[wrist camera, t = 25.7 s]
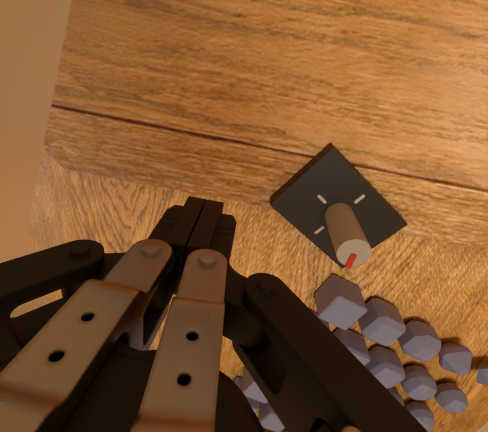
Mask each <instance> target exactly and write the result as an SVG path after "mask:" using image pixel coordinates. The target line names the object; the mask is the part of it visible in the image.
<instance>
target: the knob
mask: <svg viewBox="0 0 488 432" xmlns="http://www.w3.org/2000/svg"><path fill="white" fill-rule="evenodd" d="M325 220H326V224H327V227H328V230H329V233H330V237H331V240H332V243H333V246H334V250H335V253H336V256H337V259H338V261H339V262H340V263H342V264H343V265H345V267H347V268H351V267H354V266H359V265H362V264H363V263H365V262H366V261H367V260H368V259H369V258H370V256H371V247H370V245H369V243H368V241H367V239H366V237H365V235H364V233H363V231H362V229H361V226H360V224H359V222H358V220H357V218H356V216H355V214H354V212H353V210H352V208H351V207H350V206H349V205H347V204H345V203H335V204H333V205H331V206H330V207H328V209H327V210H326V212H325Z"/></svg>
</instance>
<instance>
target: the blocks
mask: <svg viewBox="0 0 488 432" xmlns="http://www.w3.org/2000/svg"><path fill="white" fill-rule="evenodd" d="M314 295H315V301H316V307H317V313H316V312H314V311H312V310H311V311H312V312H313V313H314V314H315V315H316V317H317V318H318V319H319V320H320V321H321V322H322V323H323V324H324V325H325V326H326V327H327V328H328V329H329V330H330V328H329V324H328V323H331V324H333V325H335V326H337V327H339V328H338V329H337V330H336V331H335V332H334V333H333V334H334V335H335V336H336V337H337V338H338V339H339V340H340V341H341V342H342V343H343V344H344V345H345V346H346V347H347V348H348V350H349V351H350V352H351V353H352V354H353V355H354V356H355V357H356V358H357V359H358V360H359V361H360V362H361V363H362V364H363V365H364V366H365V367H366V368H367V369H368V370H369V371H370V372H371V373H372V374H373V375H374V376H375V377H376V378H377V379H378V380H379V381H380V382H381V384H382V385H383V386H384V387H385V388H386V389H387V390H388V391H389V392H390V393H391V394H392V395H393V396H394V397H395V398H396V399H397V400H398V401H399V402H400V403H401V404H402V405H403V406H404V403H403V400H402V397H401V396H400V394H399V393H398V392H397V391H396V390H395V389H392V387H394V386H395V385H397V384H398V383H401V386H402V388H403V389H404V390H405V392H406V393H407V394H408V395H409V396H410V397H411V398H412V399H415V400H427V399H430V398H432V397H434V395H435V399H436V400H437V402H438V403H439V404H440V405H441V406H442V408H443V409H444V410H446V411H447V412H448V413H459V412H464V411H465V409H466V408H467V406H468V402H467V397H466V395H465V394H464V393H463V391H462V390H461V389H459V388H458V387H457V386H456V385H455V384H454V383H443V384H438V386H437V387H436V383H435V381H434V379H433V377H432V376H431V375H430V374H429V373H428V372H427V371H426V370H425V369H424V368H423V367H421V366H415V365H413V366H409V367H406V368H405V369H404V368H403V366H402V363H401V361H400V359H399V357H398V356H397V355H396V354H395V353H394V352H393V351H391V350H389V349H387V348H384V347H382V346H376V347H374V348H372V349H371V350H370V351H369V352H368V350H367V347H366V343H365V340H364V338H363V337H366V338H368V339H370V340H372V341H374V342H376V343H378V344H380V345H383V346H386V347H387V346H388V345H389V344H391V343H392V342H393V341H394V340H396V339H397V338H398V341H399V343H400V346H401V348H402V350H403V353H404V354H407V355H409V356H411V357H413V358H415V359H418V360H421V361H424V362H427V361H428V360H430V359H431V358H433V357H434V356H435V355H437V354H438V353H439V363H440V365H441V367H442V368H443V369H445V370H448V371H451V372H454V373H457V374H460V375H463V376H464V375H465V374H467V373H469V370H470V367H471V360H472V353H471V351H470V350H469V348H467V347H465V346H463V345H459V344H454V343H450V342H446V343H445V344H443V345H442V347H441V340H440V339H439V337H438V335H437V333H436V332H435V330H434V328H433V327H431V326H429V325H427V324H425V323H423V322H421V321H415V320H411V321H410V322H408V323H407V324H406V325H405V324H404V322H403V320H402V317H401V315H400V313H399V311H398V309H397V307H395V306H393V305H391V304H389V303H387V302H385V301H383V300H381V299H379V298H373V299H371V300H370V301H369V302H368V303H367V304H366V305H365V302H364V299H363V296H362V294H361V291H360V288H359V286H357V285H355V284H353V283H351V282H349V281H347V280H345V279H343V278H341V277H339V276H337V275H335V274H332V275H331V276H330V277H329V278H328V279H327V280H326V281H325V283H324V284H323V285H322V286H321V287H320V288H319V289H318V290H317V291H316V292H315V293H314ZM357 320H358V322H359V326H360V329H361V332H362V335H363V337H362V336H361V335H360V334H358V333H355V332H353V331H351V330H349V329H348V328H349V327H350V326H351V325H352V324H354V323H355V322H356V321H357ZM233 381H234V382H235V384H236V385H237V386H238V387H239V388H240V389H241V391H242V392H243V393H244V395H245V396H246V398H247V400H248V401H249V403H250V405H251V407H252V409H253V411H254V412H255V413H256V412H257V411H258V401H259V421H260V423H261V425H262V427H264V428H266V429H269V430H272V431H274V432H281V431H282V430H283V429H284V428H285V427H284V426H283V424H282V423H281V421H280V420H279V418H278V416H277V415H276V413H275V412H274V410H273V409H272V407H271V406H270V404H269V403H268V401H267V399H266V398H265V396H264V395H263V393H262V392H261V390H260V389H259V387H258V386H257V384H256V382H255V381H254V379H253V378H252V376H251V375H250V373H249V372H248V370H247V369H246V367H245V368H244V372H243V378H241V377H239V376H237V377H236V378H235V379H234V380H233ZM477 383H480V384H483V385H486V386H488V363H486V362H482V361H480V364H479V368H478V376H477ZM405 408H406V409H407V410H408V411H409V412H410V413H411V414H412V415H413V417H414V418H415V419H416V420H417V421H418V422H419V423H420V424H421V425H422V426H423V427H424V428H425V429H426V430H427V431H430V430H431V429H432V428H433V426H434V416H433V413H432V412H431V410H430V409H429V408H428V407H427V406H426V405H425V404H423V403H421V402H419V401H413V402H409V403H408V405H407V406H406V407H405Z"/></svg>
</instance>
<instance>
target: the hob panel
mask: <svg viewBox="0 0 488 432" xmlns="http://www.w3.org/2000/svg"><path fill="white" fill-rule="evenodd" d="M335 203H345V204H347V205H349V206H350V207H351V208H352V210H353V212H354V214H355V216H356V218H357V220H358V222H359V224H360V226H361V229H362V231H363V233H364V235H365V237H366V239H367V241H368V243H369V245H370V247H371V249H372V248H374V247H375V246H377V245H378V244H380V243H381V242H382V241H384V240H385V239H387V238H388V237H390V236H391V235H393V234H394V233H396V232H397V231H399V230H400V229H402V228H403V227H405V226H406V225H407V223H406V222H405V220H404V219H403V218H402V216H401V215H400V214H399V213H398V212H397V211H396V210H395V209H394V208H393V207H392V206H391V205H390V204H389V203H388V202H387V201H386V200H385V199H384V198H383V197H382V196H381V194H380V193H379V192H378V191H377V190H376V189H375V188H374V187H373V186H372V185H371V184H370V183H369V182H368V181H367V180H366V179H365V178H364V177H363V176H362V175H361V174H360V173H359V172H358V171H357V170H356V168H355V167H354V166H353V165H352V164H351V163H350V162H349V161H348V160H347V159H346V158H345V157H344V156H343V155H342V154H341V153H340V152H339V151H338V150H337V149H336V148H335V147H334V146H333V145H332V143H330V144H328V145H327V146H326V147H325V148H324V149H323V150H322V151H321V152H320V153H319V154H317V155H316V156H315V157H314V158H313V159H312V160H311V161H310V162H309V163H308V164H306V165H305V166H304V167H303V168H302V169H301V170H300V171H299V172H298V173H297V174H295V175H294V176H293V177H292V178H291V179H290V180H289V181H288V182H287V183H286V184H284V185H283V186H282V187H281V188H280V189H279V190H278V191H277V192H276V193H275V194H273V195H272V196H271V197H270V205H271V206H272V207H273V208H274V209H275V210H276V211H278V212H279V213H280V214H281V215H282V216H283V217H284V218H285V219H287V220H288V221H289V222H290V223H291V224H292V225H293V226H295V227H296V228H297V229H298V230H299V231H300V232H301V233H303V234H304V235H305V236H306V237H307V238H308V239H309V240H311V241H312V242H313V243H314V244H315V245H316V246H317V247H319V248H320V249H321V250H322V251H323V252H324V253H325V254H326V255H328V256H329V257H330V258H331V259H332V260H333V261H334V262H336V263H337V264H338V265H339V266H340V267H341V268H344V267H345V265H343V264H342V263H340V262H339V261H338V259H337V256H336V253H335V250H334V246H333V243H332V240H331V237H330V233H329V230H328V227H327V224H326V220H325V212H326V210H327V209H328V207H330V206H331V205H333V204H335Z"/></svg>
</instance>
